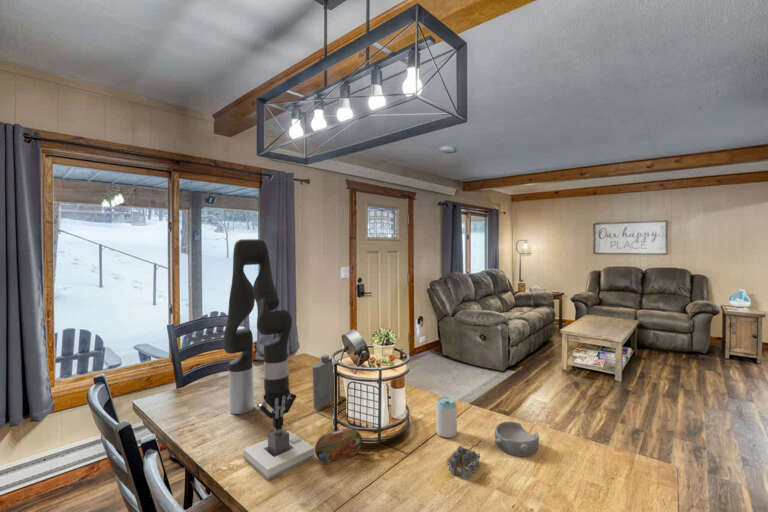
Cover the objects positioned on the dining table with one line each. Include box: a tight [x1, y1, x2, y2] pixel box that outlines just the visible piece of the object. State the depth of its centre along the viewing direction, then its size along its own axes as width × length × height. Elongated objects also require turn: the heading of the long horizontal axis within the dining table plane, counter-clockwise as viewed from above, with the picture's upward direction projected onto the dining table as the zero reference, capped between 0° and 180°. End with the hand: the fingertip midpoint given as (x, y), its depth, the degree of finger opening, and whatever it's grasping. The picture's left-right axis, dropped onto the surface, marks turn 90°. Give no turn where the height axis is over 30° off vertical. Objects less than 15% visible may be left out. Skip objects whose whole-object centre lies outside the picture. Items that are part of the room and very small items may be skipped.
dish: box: [494, 421, 540, 457], centre depth 122 cm, size 14×14×5 cm
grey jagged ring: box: [446, 445, 481, 480], centre depth 111 cm, size 11×8×4 cm
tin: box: [314, 427, 363, 465], centre depth 118 cm, size 15×3×8 cm, turn 117°
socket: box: [242, 430, 316, 481], centre depth 119 cm, size 16×16×4 cm
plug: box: [267, 427, 290, 457], centre depth 119 cm, size 5×5×9 cm
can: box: [435, 396, 458, 439], centre depth 131 cm, size 7×7×12 cm
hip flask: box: [312, 354, 341, 411], centre depth 160 cm, size 16×4×20 cm, turn 150°
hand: (278, 428), depth 119 cm, fingers closed
